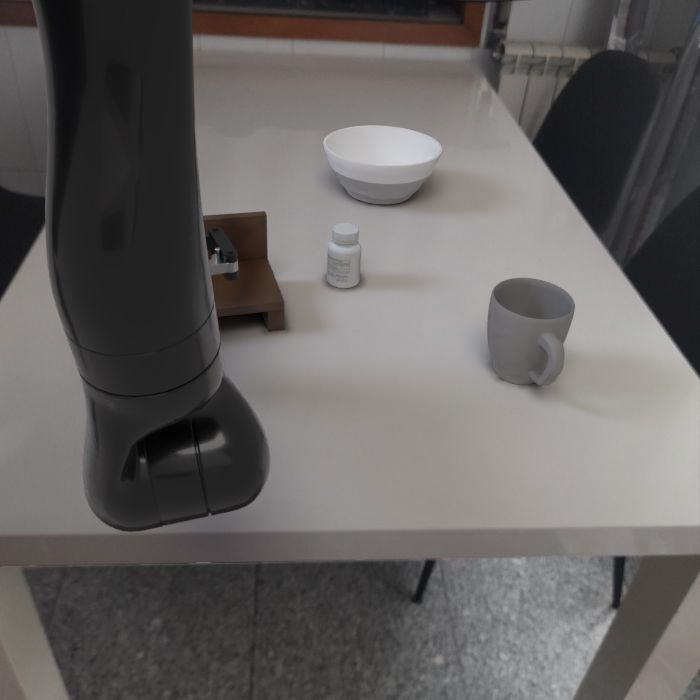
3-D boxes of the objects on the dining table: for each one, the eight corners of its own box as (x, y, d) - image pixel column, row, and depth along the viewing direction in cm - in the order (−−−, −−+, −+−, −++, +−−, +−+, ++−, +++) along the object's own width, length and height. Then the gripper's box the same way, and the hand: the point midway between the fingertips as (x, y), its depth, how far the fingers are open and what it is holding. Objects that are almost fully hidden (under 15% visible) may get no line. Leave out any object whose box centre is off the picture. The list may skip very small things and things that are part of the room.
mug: (466, 351, 84) (479, 279, 78) (535, 344, 86) (553, 274, 80) (507, 417, 75) (524, 341, 69) (584, 408, 76) (607, 333, 71)
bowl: (303, 179, 125) (303, 132, 120) (399, 165, 132) (403, 120, 128) (355, 224, 111) (358, 173, 106) (459, 205, 118) (466, 157, 114)
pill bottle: (345, 269, 99) (348, 218, 94) (366, 283, 96) (369, 230, 92) (320, 278, 96) (321, 226, 92) (340, 292, 94) (343, 239, 89)
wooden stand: (110, 349, 81) (96, 271, 75) (109, 295, 90) (97, 222, 85) (284, 329, 86) (284, 255, 80) (266, 280, 95) (265, 210, 90)
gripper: (254, 263, 54) (225, 180, 68) (52, 280, 51) (64, 189, 64) (256, 344, 59) (229, 251, 72) (70, 365, 55) (78, 263, 68)
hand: (151, 222), depth 68 cm, fingers closed on beverage can, 6 cm apart
